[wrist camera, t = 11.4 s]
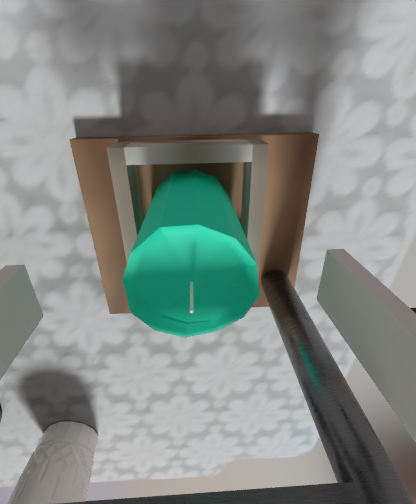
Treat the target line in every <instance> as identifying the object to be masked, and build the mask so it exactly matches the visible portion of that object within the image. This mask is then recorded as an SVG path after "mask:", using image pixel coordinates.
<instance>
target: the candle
mask: <svg viewBox="0 0 416 504" xmlns="http://www.w3.org/2000/svg"><path fill="white" fill-rule="evenodd" d="M122 280H123V284H124V288H125V292H126V296H127V300H128V304H129V308H130V312H131V313H132V314H134V315H135V316H136V317H138V318H139V319H140V320H142V321H143V322H144V323H146V324H147V325H149V326H150V327H151V328H153V329H154V330H156V331H160V332H165V333H169V334H173V335H177V336H182V337H190V336H195V335H200V334H205V333H210V332H214V331H218V330H220V329H222V328H224V327H226V326H228V325H229V324H231V323H233V322H235V321H237V320H239V319H241V318H243V317H244V316H245V314H246V313H247V312H248V310H249V309H250V308H251V306H252V305H253V304H254V302H255V301H256V300H257V298H258V297H259V296H260V295H259V283H258V271H257V263H256V260H255V258H254V256H253V253H252V251H251V248H250V246H249V243H248V241H247V239H246V236H245V234H244V231H243V229H242V226H241V224H240V222H239V219H238V217H237V214H236V212H235V209H234V207H233V205H232V202H231V200H230V197H229V195H228V193H227V192H226V190H225V189H224V188H223V186H222V185H221V184H220V182H219V181H218V180H217V178H216V177H214V176H212V175H209V174H207V173H204V172H202V171H199V170H197V169H192V170H186V171H179V172H174V173H173V174H171V175H170V176H169V177H168V178H167V179H166V180H164V181H163V182H162V183H161V184H160V185H158V187H157V190H156V192H155V194H154V197H153V199H152V202H151V204H150V207H149V209H148V211H147V214H146V216H145V219H144V221H143V224H142V226H141V229H140V231H139V233H138V236H137V238H136V241H135V243H134V246H133V248H132V250H131V253H130V256H129V260H128V263H127V266H126V269H125V273H124V276H123V279H122Z"/></svg>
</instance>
